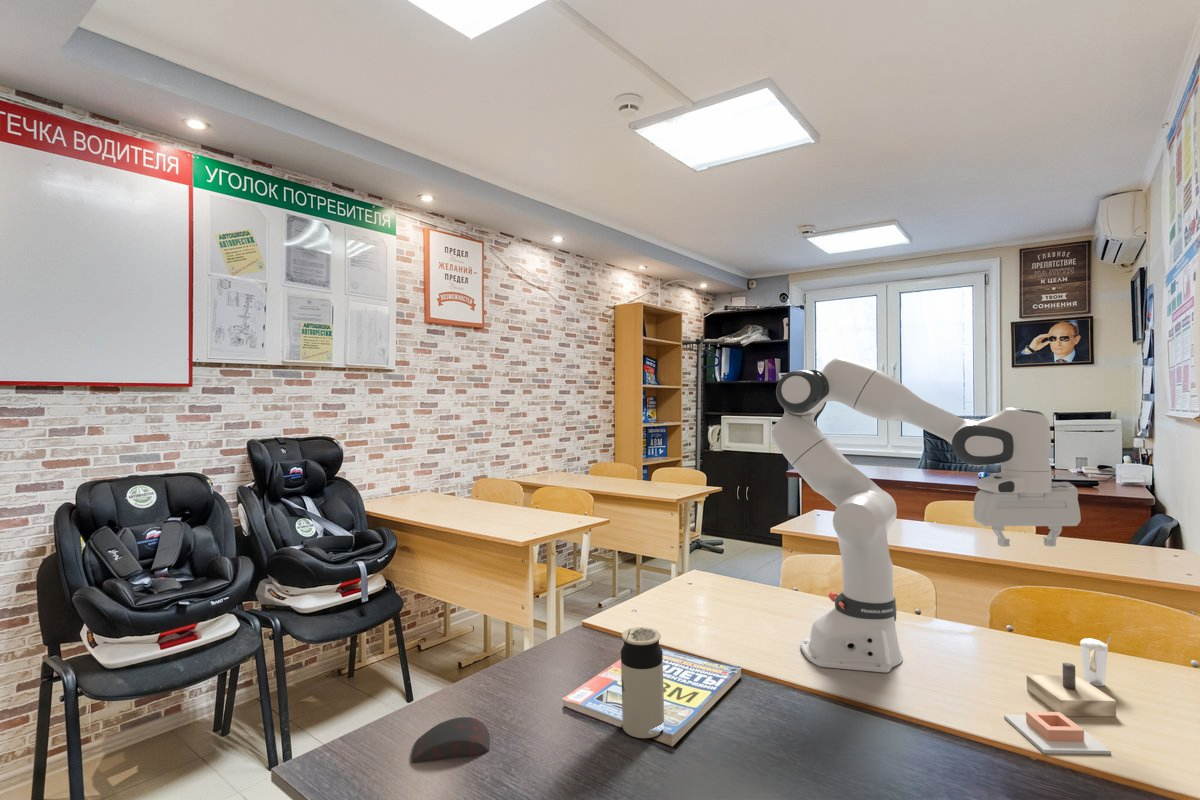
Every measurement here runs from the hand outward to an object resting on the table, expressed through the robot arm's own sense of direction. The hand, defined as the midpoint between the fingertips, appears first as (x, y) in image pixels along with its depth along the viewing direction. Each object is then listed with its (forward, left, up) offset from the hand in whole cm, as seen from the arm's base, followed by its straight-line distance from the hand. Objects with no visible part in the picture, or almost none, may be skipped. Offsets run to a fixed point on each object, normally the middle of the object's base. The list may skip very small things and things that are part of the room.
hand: (1026, 546), depth 127 cm
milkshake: (+12, -2, -29) cm, 32 cm away
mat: (-9, -22, -29) cm, 37 cm away
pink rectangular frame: (-9, -22, -28) cm, 37 cm away
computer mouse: (-119, -28, -29) cm, 126 cm away
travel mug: (-84, -21, -29) cm, 91 cm away
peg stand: (+1, -10, -29) cm, 31 cm away
